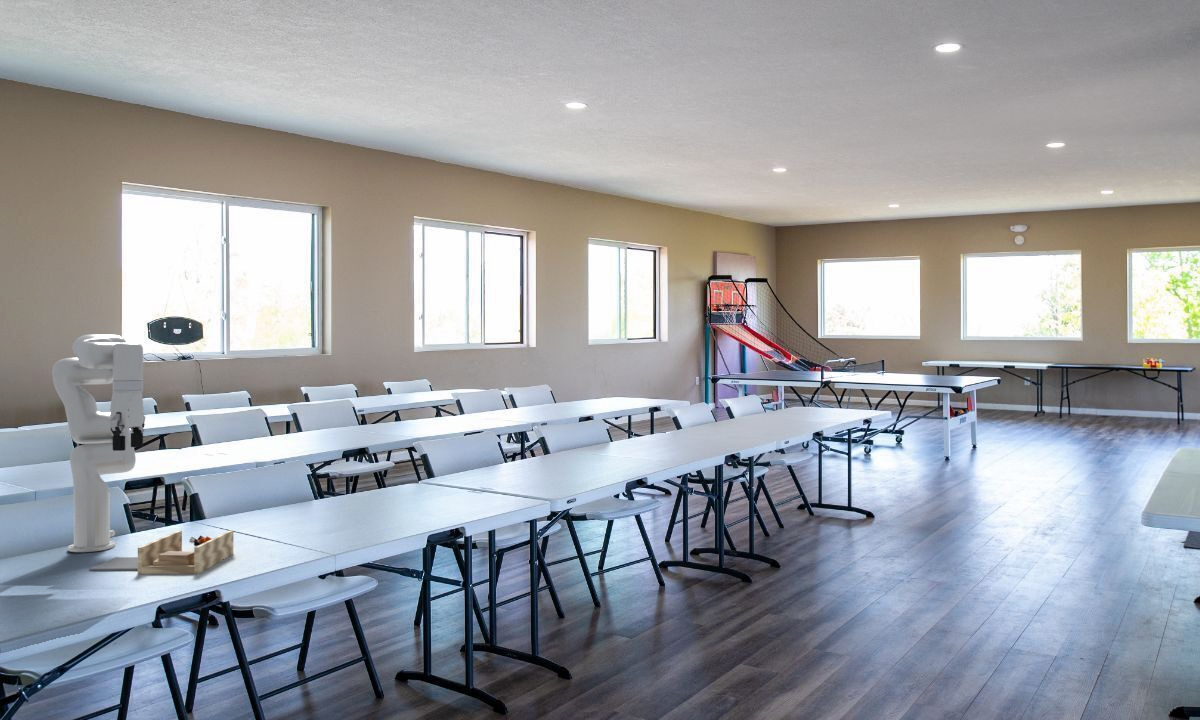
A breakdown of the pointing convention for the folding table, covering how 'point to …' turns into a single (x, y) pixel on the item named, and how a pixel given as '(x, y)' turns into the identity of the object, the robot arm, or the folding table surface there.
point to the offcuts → (175, 558)
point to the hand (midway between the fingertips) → (128, 448)
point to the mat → (118, 564)
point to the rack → (203, 553)
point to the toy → (199, 540)
